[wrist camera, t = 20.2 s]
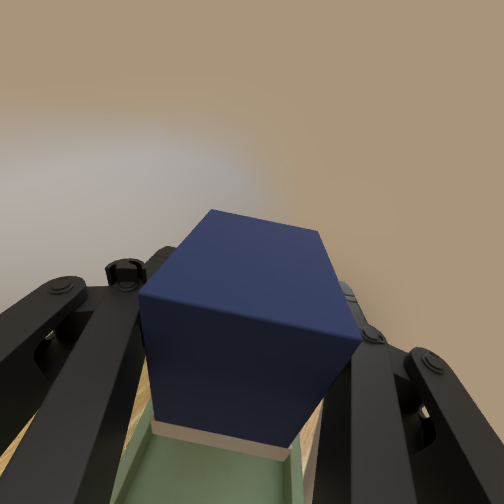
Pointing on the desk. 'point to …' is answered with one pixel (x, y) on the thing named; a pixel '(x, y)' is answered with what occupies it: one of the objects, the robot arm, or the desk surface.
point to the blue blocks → (244, 334)
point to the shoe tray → (201, 473)
